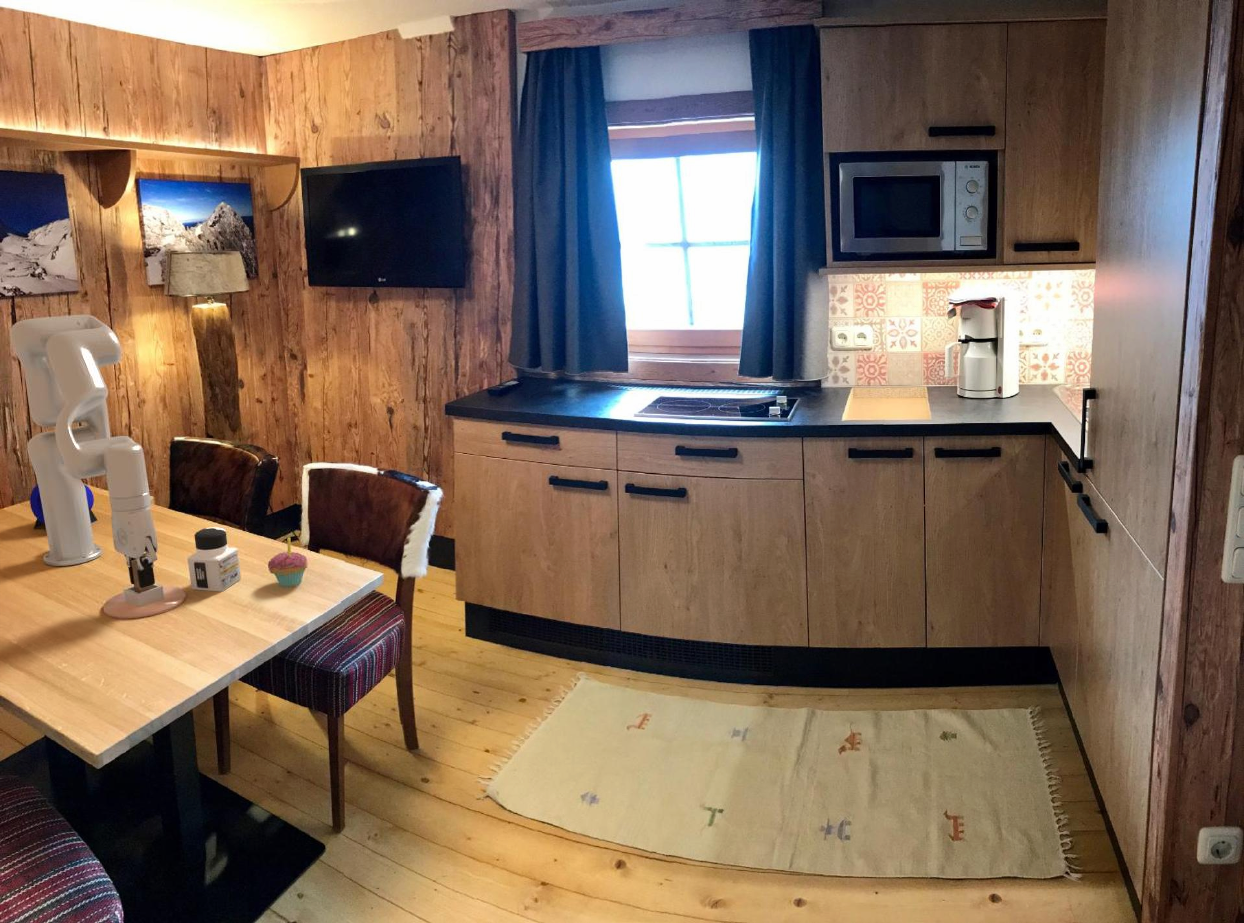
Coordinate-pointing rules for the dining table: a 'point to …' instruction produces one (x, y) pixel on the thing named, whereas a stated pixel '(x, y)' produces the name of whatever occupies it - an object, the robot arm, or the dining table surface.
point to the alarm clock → (38, 510)
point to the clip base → (144, 602)
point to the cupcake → (288, 567)
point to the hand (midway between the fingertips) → (142, 583)
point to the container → (213, 561)
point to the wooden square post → (135, 576)
